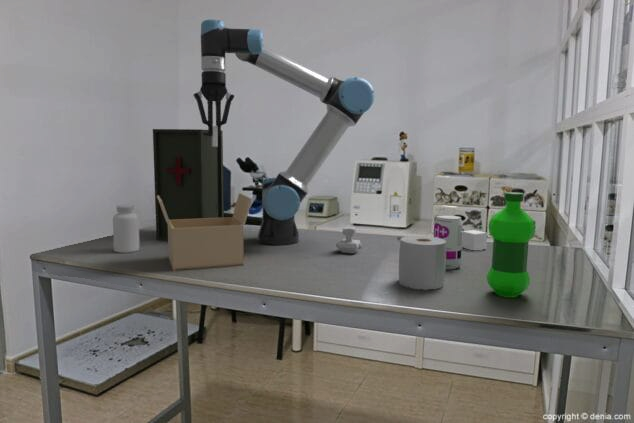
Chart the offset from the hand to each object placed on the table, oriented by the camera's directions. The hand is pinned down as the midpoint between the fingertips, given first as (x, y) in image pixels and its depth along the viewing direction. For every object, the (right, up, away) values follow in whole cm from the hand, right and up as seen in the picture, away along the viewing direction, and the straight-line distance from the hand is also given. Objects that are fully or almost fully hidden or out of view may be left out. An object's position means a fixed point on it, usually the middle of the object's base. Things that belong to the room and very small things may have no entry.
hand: (214, 146), depth 163 cm
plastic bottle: (+80, -42, -40) cm, 99 cm away
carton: (-1, -36, -11) cm, 38 cm away
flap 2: (+10, -20, -9) cm, 24 cm away
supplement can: (+72, -38, -13) cm, 82 cm away
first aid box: (-14, -31, +27) cm, 44 cm away
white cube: (+88, -34, +12) cm, 95 cm away
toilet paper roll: (+61, -40, -31) cm, 79 cm away
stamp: (+44, -35, +4) cm, 56 cm away
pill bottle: (-29, -34, +2) cm, 45 cm away
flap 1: (-11, -21, -17) cm, 29 cm away
